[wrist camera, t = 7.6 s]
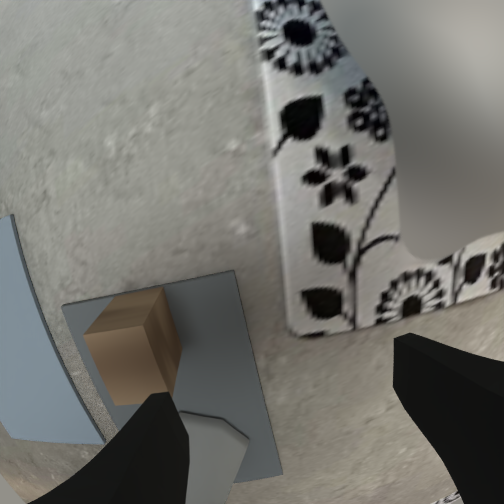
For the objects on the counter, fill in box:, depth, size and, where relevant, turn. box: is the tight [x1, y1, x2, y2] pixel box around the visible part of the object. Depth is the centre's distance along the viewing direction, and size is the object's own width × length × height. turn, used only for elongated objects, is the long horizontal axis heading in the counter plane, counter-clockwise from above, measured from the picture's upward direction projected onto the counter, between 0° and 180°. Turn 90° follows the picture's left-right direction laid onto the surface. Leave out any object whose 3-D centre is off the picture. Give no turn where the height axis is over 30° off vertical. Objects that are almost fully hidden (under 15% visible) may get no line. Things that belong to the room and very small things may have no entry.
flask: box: [179, 412, 250, 504], centre depth 15 cm, size 7×7×10 cm
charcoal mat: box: [61, 270, 283, 483], centre depth 17 cm, size 18×11×5 cm, turn 11°
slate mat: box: [0, 215, 106, 444], centre depth 18 cm, size 18×11×1 cm, turn 11°
